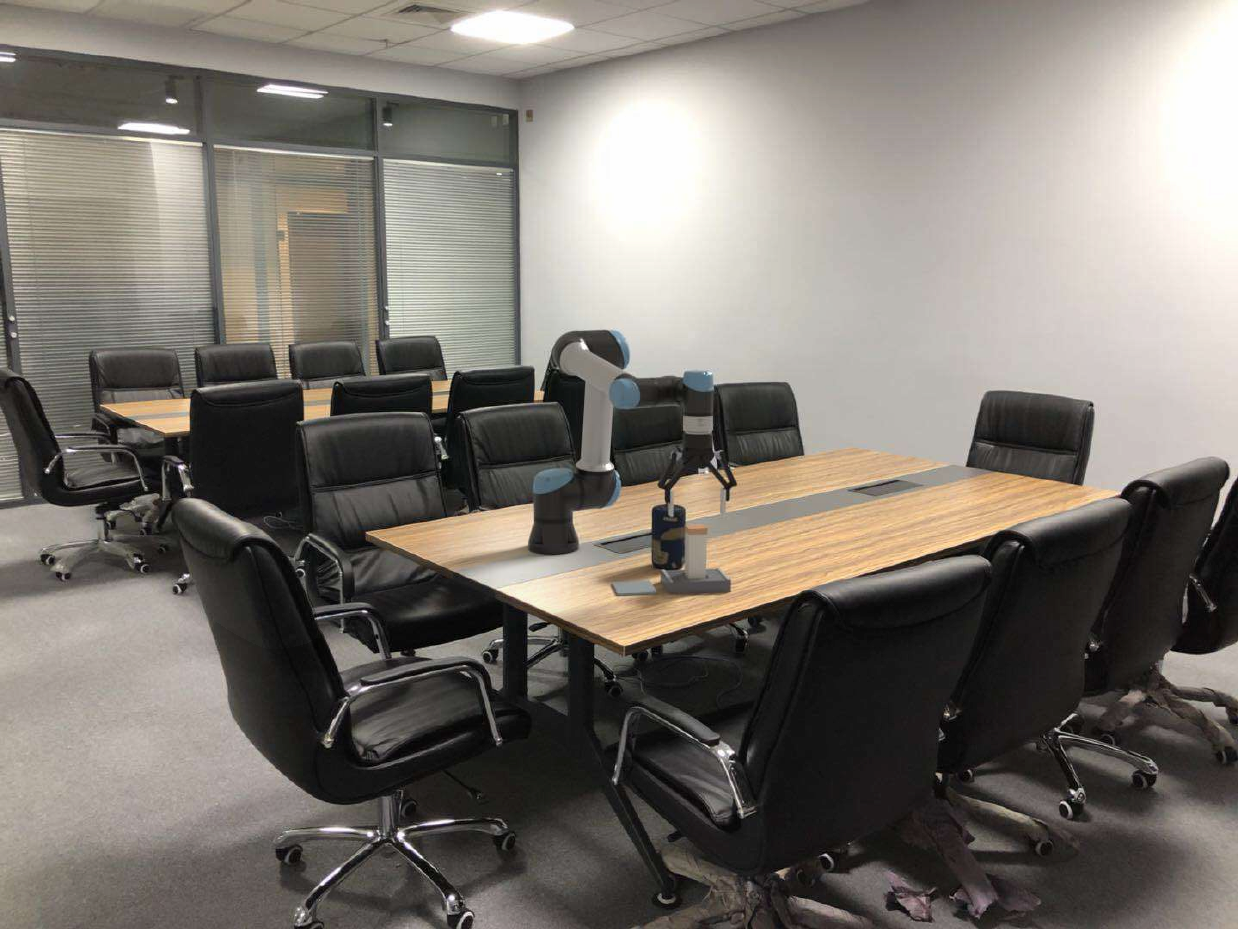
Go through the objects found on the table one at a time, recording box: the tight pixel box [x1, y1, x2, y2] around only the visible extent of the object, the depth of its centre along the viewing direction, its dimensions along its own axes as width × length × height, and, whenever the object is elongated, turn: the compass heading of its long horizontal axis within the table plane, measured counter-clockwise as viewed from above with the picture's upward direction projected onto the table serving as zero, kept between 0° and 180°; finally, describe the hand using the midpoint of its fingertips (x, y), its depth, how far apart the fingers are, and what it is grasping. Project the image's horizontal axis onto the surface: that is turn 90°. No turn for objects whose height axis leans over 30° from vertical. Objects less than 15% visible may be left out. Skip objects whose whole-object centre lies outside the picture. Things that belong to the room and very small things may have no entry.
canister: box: [650, 502, 687, 570], centre depth 269 cm, size 10×10×18 cm
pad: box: [611, 579, 658, 596], centre depth 249 cm, size 10×10×1 cm
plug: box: [684, 523, 708, 579], centre depth 250 cm, size 5×5×16 cm
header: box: [660, 566, 732, 595], centre depth 251 cm, size 16×11×3 cm
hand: (697, 514), depth 248 cm, fingers open, 13 cm apart
